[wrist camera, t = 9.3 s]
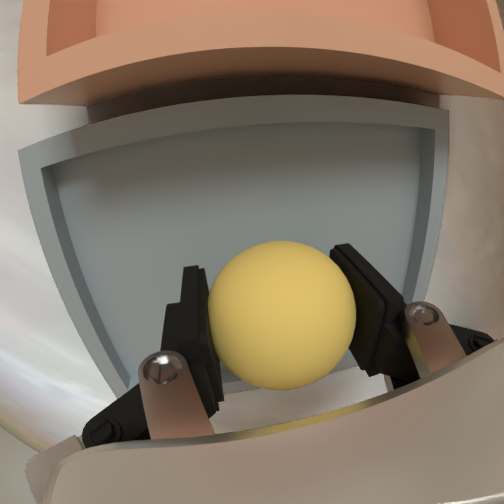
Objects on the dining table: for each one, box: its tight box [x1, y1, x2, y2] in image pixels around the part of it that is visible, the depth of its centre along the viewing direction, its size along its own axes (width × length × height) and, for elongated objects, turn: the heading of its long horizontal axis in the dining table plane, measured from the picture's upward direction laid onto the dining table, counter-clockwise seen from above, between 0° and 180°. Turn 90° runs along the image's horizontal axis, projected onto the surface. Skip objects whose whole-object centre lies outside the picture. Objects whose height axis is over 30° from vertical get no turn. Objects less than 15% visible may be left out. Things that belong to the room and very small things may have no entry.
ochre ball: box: [208, 241, 356, 390], centre depth 9 cm, size 5×5×5 cm
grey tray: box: [18, 95, 449, 399], centre depth 12 cm, size 18×14×2 cm
